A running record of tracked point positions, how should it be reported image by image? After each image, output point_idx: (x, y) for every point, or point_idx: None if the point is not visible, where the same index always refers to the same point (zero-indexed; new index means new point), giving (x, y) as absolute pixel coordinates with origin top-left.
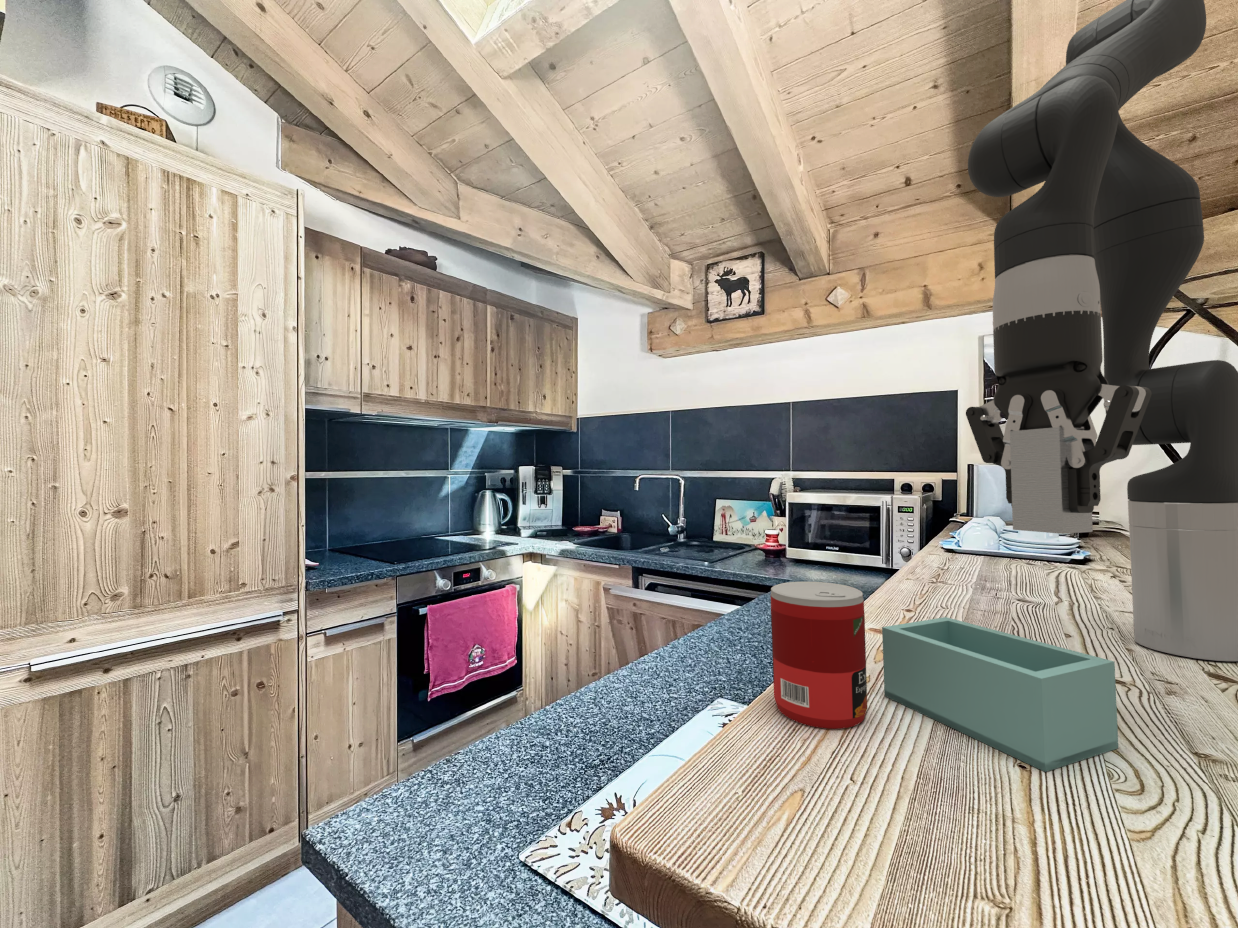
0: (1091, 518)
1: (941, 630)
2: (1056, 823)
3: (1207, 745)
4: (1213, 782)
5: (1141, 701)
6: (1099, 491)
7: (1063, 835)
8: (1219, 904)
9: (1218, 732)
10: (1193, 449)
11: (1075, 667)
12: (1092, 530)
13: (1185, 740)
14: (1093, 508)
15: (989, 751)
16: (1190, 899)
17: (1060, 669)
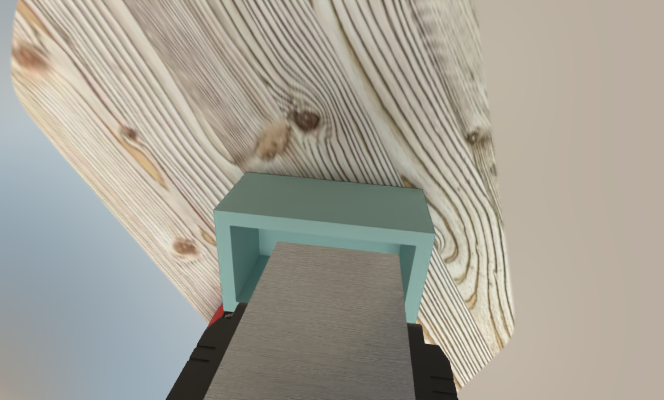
0: (400, 278)
1: (235, 230)
2: (437, 325)
3: (472, 105)
4: (489, 189)
5: (389, 16)
6: (453, 386)
7: (444, 332)
8: (512, 329)
9: (473, 50)
10: None
11: (418, 285)
12: (398, 256)
13: (455, 111)
14: (421, 327)
15: None
16: (502, 335)
17: (412, 300)
